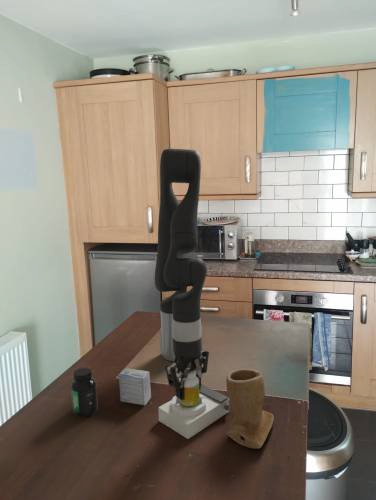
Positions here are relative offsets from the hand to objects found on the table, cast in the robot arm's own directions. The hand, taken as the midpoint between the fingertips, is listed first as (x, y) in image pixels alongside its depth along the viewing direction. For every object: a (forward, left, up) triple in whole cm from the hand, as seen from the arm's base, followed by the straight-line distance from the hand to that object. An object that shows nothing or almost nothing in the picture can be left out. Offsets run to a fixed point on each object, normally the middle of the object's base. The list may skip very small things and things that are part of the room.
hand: (188, 393), depth 112 cm
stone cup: (+14, +7, -8) cm, 17 cm away
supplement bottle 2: (0, 0, -3) cm, 3 cm away
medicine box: (-18, -4, -8) cm, 20 cm away
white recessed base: (0, +2, -7) cm, 8 cm away
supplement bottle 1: (-24, -17, -8) cm, 30 cm away
